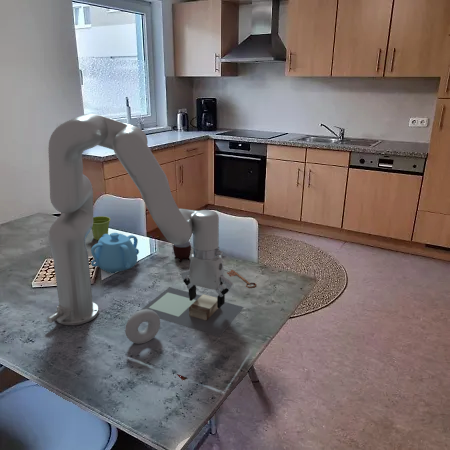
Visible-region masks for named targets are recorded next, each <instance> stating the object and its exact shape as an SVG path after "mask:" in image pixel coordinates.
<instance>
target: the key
mask: <svg viewBox="0 0 450 450" xmlns="http://www.w3.org/2000/svg"><path fill="white" fill-rule="evenodd" d="M226 274H227V275H228V276H229V278H230V277H235V276H237V277H238V278H239V279H241V280H242V281H243V282H244V283H245V287H246V288H248V289H253V288H255V287H256V286H257V283H256V282H249V281H248V280H247V279H245V278H244V277H243V276H242V275H240V274H239V273H238V272H236V271H235V270H234V269H231V270H230V271H227V272H226Z"/></svg>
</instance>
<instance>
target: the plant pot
mask: <svg viewBox="0 0 450 450" xmlns="http://www.w3.org/2000/svg"><path fill="white" fill-rule="evenodd" d="M110 222H111V217H109V216H105V215H103V216H102V215H101V216H99V215H98V216H93V226H92V229H91V232H92V236H93V239H94V240H96V241H99V239H100V238H101V237H102V236H103V235H104V234H109V226H110Z"/></svg>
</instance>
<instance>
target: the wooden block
mask: <svg viewBox="0 0 450 450" xmlns="http://www.w3.org/2000/svg"><path fill="white" fill-rule="evenodd" d="M217 309H218V307H217V297H216V296H211V295H208V294H204V293H203V294H202V295H201V297H199V298H198V299H197V300H196V301H195V302H194V303H193V304H192V305H191V306H190V307H189V316H192V317H195V318H199V319H202V320H205V321H207V320H208V319H209V318H210V316H211V315H212V314H213V313H214V312H215V311H216V310H217Z"/></svg>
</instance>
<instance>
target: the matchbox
mask: <svg viewBox="0 0 450 450" xmlns="http://www.w3.org/2000/svg"><path fill="white" fill-rule="evenodd" d="M174 374H175V375H177V376H178V378H180V380H181V381H183V380H184V381H186V380H187V379H189V377H187V376H184V375H181V374H178V373H174V372H173V373H171V374H169V375H174ZM180 376H181V377H180ZM166 379H168V378H166Z"/></svg>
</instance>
